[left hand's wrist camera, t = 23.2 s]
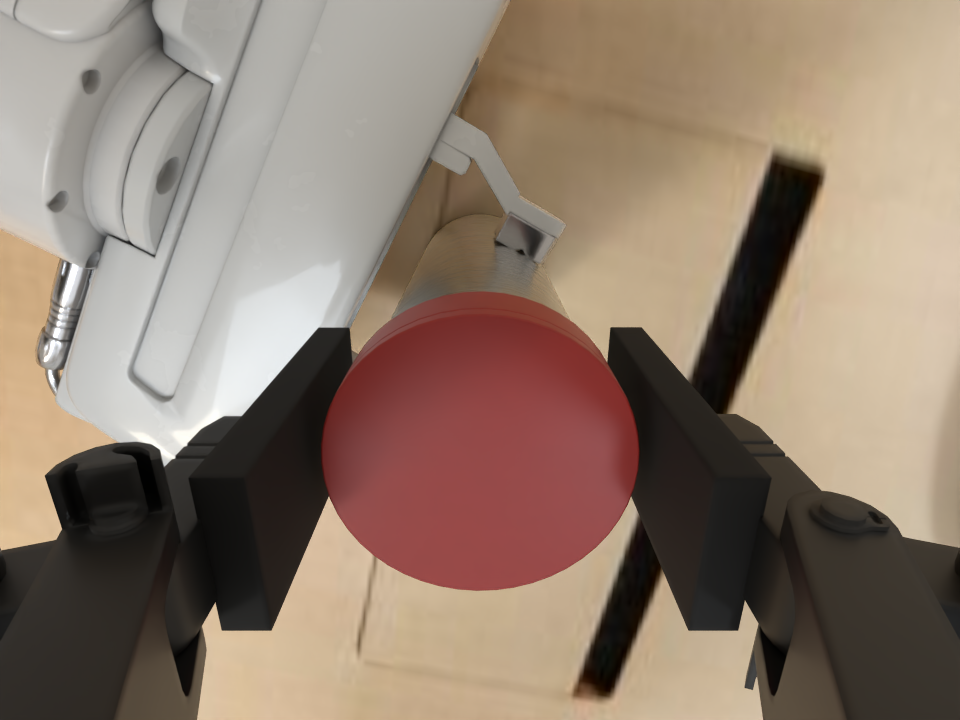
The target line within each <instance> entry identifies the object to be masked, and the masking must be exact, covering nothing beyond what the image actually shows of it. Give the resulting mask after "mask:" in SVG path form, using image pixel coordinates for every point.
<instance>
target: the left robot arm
mask: <svg viewBox="0 0 960 720" xmlns="http://www.w3.org/2000/svg"><path fill="white" fill-rule="evenodd" d="M352 364H353V362H352V350H351V339H350V328H349V327H318V329H317V330H316V331H315V332H314V333H313V334H312V335H311V337H310V338H309V339H308V340H307V341H306V342H305V344H304V345H303V346H302V347H301V348H300V349H299V350H298V352H297V353H296V354H295V355H294V356H293V357H292V359H291V360H290V361H289V362H288V363H287V364H286V365H285V367H284V368H283V369H282V370H281V371H280V372H279V374H278V375H277V376H276V377H275V378H274V379H273V381H272V382H271V383H270V384H269V385H268V386H267V387H266V389H265V390H264V391H263V392H262V393H261V394H260V396H259V397H258V398H257V399H256V400H255V401H254V402H253V404H252V405H251V406H250V407H249V408H248V409H247V411H246V412H245V413H244V414H243V415H242V416H223V417H222V418H220V419H218V420H216V421H214V422H212V423H211V424H209V425H207V426H205V427H203V428H202V429H201V430H200V431H199V432H198V433H197V434H196V435H195V436H194V437H193V438H192V439H191V440H190V441H189V442H188V443H187V446H184V447H183V448H182V449H181V450H180V451H179V452H178V453H177V454H176V455H175V459H172V460H171V461H170V462H169V463H168V464H167V465H166V466H165V467H164V464H163V460H162V456H161V452H160V449H158V448H157V447H155V446H154V445H152V444H148V443H142V442H122V443H114V444H109V445H104V446H100V447H95V448H92V449H90V450H87V451H84V452H81V453H79V454H76V455H73V456H72V457H70V458H68V459H66V460H64V461H63V462H61V463H59V464H57V465H56V466H55V467H54V468H53V469H51V470H50V471H49V472H48V473H47V474H46V475H45V478H46V481H47V484H48V487H49V490H50V493H51V496H52V499H53V502H54V505H55V508H56V511H57V514H58V517H59V520H60V523H61V527H62V531H61V532H60V534H59V536H58V538H57V540H54V541H49V542H44V543H38V544H33V545H28V546H23V547H17V548H12V549H7V550H2V551H1V549H0V720H197V715H198V708H199V701H200V694H201V686H202V679H203V672H204V665H205V658H206V643H205V637H204V633H203V629H202V625H203V623H204V621H205V619H206V618H207V616H208V614H209V612H210V611H211V609H212V607H213V605H214V604H215V602H216V606H217V611H218V615H219V620H220V624H221V629H222V631H271V630H272V628H273V626H274V623H275V621H276V619H277V616H278V614H279V612H280V609H281V607H282V605H283V602H284V600H285V598H286V595H287V593H288V591H289V588H290V586H291V583H292V581H293V579H294V576H295V574H296V572H297V569H298V567H299V565H300V562H301V560H302V558H303V555H304V553H305V551H306V548H307V546H308V544H309V541H310V539H311V537H312V534H313V532H314V529H315V527H316V525H317V522H318V520H319V518H320V515H321V513H322V511H323V508H324V506H325V504H326V501H327V499H328V497H329V494H328V491H327V488H326V484H325V481H324V476H323V470H322V464H321V440H322V433H323V426H324V423H325V419H326V416H327V413H328V409H329V407H330V405H331V403H332V400H333V398H334V396H335V394H336V392H337V390H338V388H339V386H340V385H341V383H342V381H343V379H344V378H345V376H346V374H347V372H348V371H349V369H350V367H351V365H352ZM607 364H608V365H609V367H610V369H611V371H612V372H613V374H614V376H615V378H616V379H617V381H618V383H619V385H620V386H621V388H622V390H623V392H624V393H625V395H626V397H627V399H628V402H629V404H630V406H631V409H632V411H633V414H634V417H635V422H636V426H637V430H638V437H639V450H640V453H639V467H638V473H637V477H636V482H635V486H634V489H633V492H632V495H631V497H632V499H633V501H634V504H635V506H636V508H637V511H638V513H639V515H640V518H641V520H642V522H643V525H644V527H645V529H646V532H647V534H648V537H649V539H650V541H651V544H652V546H653V548H654V551H655V553H656V555H657V558H658V560H659V562H660V565H661V567H662V569H663V572H664V574H665V576H666V579H667V581H668V583H669V586H670V588H671V591H672V593H673V595H674V598H675V600H676V602H677V605H678V607H679V609H680V612H681V614H682V616H683V619H684V621H685V623H686V626H687V628H688V630H689V631H738V629H739V624H740V620H741V615H742V611H743V606H744V602H745V601H746V602H747V604H748V606H749V608H750V609H751V611H752V613H753V615H754V616H755V618H756V620H757V621H758V623H759V625H758V629H757V633H756V637H755V641H754V646H753V650H752V654H751V658H750V662H749V667H748V671H747V675H746V682H745V688H747V689H751V690H753V687H754V683H755V679H756V677H757V678H758V685H759V692H760V699H761V707H762V714H763V720H960V548H957V547H951V546H946V545H941V544H936V543H930V542H925V541H920V540H915V539H910V538H905V537H902V535H901V533H900V531H899V530H898V528H897V527H896V526H895V525H894V523H893V522H892V521H891V520H890V519H889V518H888V517H887V516H886V515H884V514H883V513H881V512H880V511H878V510H877V509H875V508H874V507H872V506H871V505H869V504H866V503H864V502H862V501H859V500H857V499H854V498H852V497H849V496H845V495H841V494H837V493H833V492H828V491H821V490H820V489H819V488H818V487H817V486H816V485H815V484H814V483H813V482H812V480H811V479H810V478H809V477H808V476H807V475H806V474H805V473H804V472H803V471H802V470H801V469H800V468H799V467H798V466H797V465H796V464H795V463H794V462H793V461H792V460H791V459H790V458H789V457H785V453H784V452H783V451H782V450H781V449H780V448H779V447H778V446H777V445H776V444H773V441H772V440H771V438H770V437H769V436H768V435H767V434H766V433H765V432H764V431H763V430H762V429H761V428H760V427H759V426H757V425H755V424H753V423H751V422H750V421H748V420H746V419H744V418H742V417H740V416H739V415H737V414H716V413H715V412H714V411H713V409H712V408H711V407H710V406H709V405H708V404H707V402H706V401H705V400H704V399H703V398H702V397H701V396H700V394H699V393H698V392H697V391H696V390H695V389H694V387H693V386H692V385H691V384H690V383H689V382H688V380H687V379H686V378H685V377H684V376H683V375H682V374H681V372H680V371H679V370H678V369H677V368H676V367H675V365H674V364H673V363H672V362H671V361H670V360H669V359H668V357H667V356H666V355H665V354H664V353H663V352H662V350H661V349H660V348H659V347H658V346H657V345H656V344H655V342H654V341H653V340H652V339H651V338H650V337H649V335H648V334H647V333H646V332H645V331H644V330H643V329H642V327H611V328H610V339H609V351H608V362H607Z"/></svg>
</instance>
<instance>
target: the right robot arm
mask: <svg viewBox="0 0 960 720" xmlns="http://www.w3.org/2000/svg"><path fill="white" fill-rule="evenodd" d="M510 1H511V0H0V230H2V231H4V232H7V233H9V234H11V235H13V236H15V237H17V238H19V239H21V240H23V241H25V242H28V243H30V244H32V245H34V246H36V247H38V248H40V249H42V250H44V251H46V252H49V253H51V254H53V255H55V256H57V257H59V258H60V261H59V264H58V268H57V272H56V275H55V279H54V282H53V287H52V292H51V299H50V308H49V315H48V318H47V322H46V325H45V326H44V327H43V328H42V330H41V332H40V334H39V337H38V340H37V344H36V362H37V364H38V365H39V366H41V367H43V368H45V375H46V378H47V382H48V384H49V387H50V389H51V390H52V392H53V394H54V395H55V400H56V403H57V404H58V405H59V406H60V407H61V408H62V409H63V410H65V411H66V412H68V413H69V414H71V415H73V416H75V417H77V418H79V419H82V420H84V421H86V422H89V423H91V424H92V425H94V426H95V427H96V428H98V429H99V430H100V431H102V432H103V433H105V434H106V435H108V436H109V437H111V438H112V439H114V440H115V441H117V442H119V443H122V442H142V443H148V444H152V445H154V446H155V447H157V448H158V449H160V452H161V456H162V460H163V464H164V467H165V466H166V465H167V464H168V463H169V462H170V461H171V460H172V459H175V455H176V454H177V453H178V452H179V451H180V450H181V449H182V448H183V447H184V446H187V443H188V442H189V441H190V440H191V439H192V438H193V437H194V436H195V435H196V434H197V433H198V432H199V431H200V430H201V429H202V428H203V427H205V426H207V425H209V424H211V423H212V422H214V421H216V420H218V419H220V418H222V417H223V416H242V415H243V414H244V413H245V412H246V411H247V409H248V408H249V407H250V406H251V405H252V404H253V402H254V401H255V400H256V399H257V398H258V397H259V396H260V394H261V393H262V392H263V391H264V390H265V389H266V387H267V386H268V385H269V384H270V383H271V382H272V381H273V379H274V378H275V377H276V376H277V375H278V374H279V372H280V371H281V370H282V369H283V368H284V367H285V365H286V364H287V363H288V362H289V361H290V360H291V359H292V357H293V356H294V355H295V354H296V353H297V352H298V350H299V349H300V348H301V347H302V346H303V345H304V344H305V342H306V341H307V340H308V339H309V338H310V337H311V335H312V334H313V333H314V332H315V331H316V330H317V329H318V327H349V328H350V327H351V325H352V323H353V321H354V319H355V317H356V315H357V313H358V311H359V309H360V307H361V305H362V303H363V301H364V299H365V297H366V295H367V293H368V291H369V289H370V287H371V285H372V283H373V281H374V279H375V276H376V274H377V272H378V270H379V268H380V266H381V264H382V262H383V260H384V258H385V256H386V254H387V252H388V250H389V248H390V246H391V244H392V242H393V240H394V238H395V236H396V234H397V232H398V230H399V228H400V225H401V223H402V221H403V219H404V217H405V215H406V213H407V211H408V209H409V207H410V205H411V203H412V201H413V199H414V197H415V195H416V193H417V191H418V189H419V187H420V185H421V183H422V181H423V179H424V176H425V174H426V172H427V170H428V168H429V166H430V164H431V162H432V160H434V161H435V162H437V163H439V164H441V165H443V166H444V167H446V168H448V169H450V170H451V171H453V172H455V173H457V174H459V175H463V174H465V173H466V171H467V169H468V167H469V165H470V163H471V161H472V160H471V158H472V159H474V160H475V162H476V164H477V165H478V167H479V169H480V170H481V172H482V174H483V176H484V177H485V179H486V181H487V182H488V184H489V186H490V188H491V189H492V191H493V193H494V194H495V196H496V198H497V200H498V201H499V203H500V205H501V206H502V208H503V210H504V214H503V216H502V218H501V219H500V221H499V223H498V225H497V227H496V229H495V231H494V234H495V240H497V241H498V242H500V243H502V244H504V245H505V246H507V247H509V248H512V249H514V250H520V249H523V251H524V254H525V256H527V257H528V258H530V259H531V260H532V261H534V262H536V263H538V264H542V265H543V263H544V262H545V260H546V258H547V257H548V255H549V253H550V252H551V250H552V249H553V247H554V245H555V244H556V242H557V240H558V239H559V237H560V235H561V234H562V232H563V230H564V229H565V227H566V224H565V223H564V222H563V221H562V220H561V219H559V218H558V217H556V216H555V215H553V214H552V213H550V212H548V211H546V210H545V209H543V208H541V207H540V206H538V205H536V204H534V203H533V202H531V201H529V200H527V199H526V198H524V197H522V196H521V195H520V192H519V190H518V189H517V187H516V185H515V183H514V181H513V180H512V178H511V176H510V174H509V173H508V171H507V169H506V167H505V165H504V164H503V162H502V160H501V158H500V156H499V155H498V153H497V151H496V149H495V148H494V146H493V144H492V142H491V140H490V139H489V137H488V135H487V134H486V133H484V132H483V131H481V130H479V129H478V128H476V127H474V126H473V125H471V124H469V123H468V122H466V121H464V120H463V119H461V118H459V117H458V116H456V115H455V113H456V111H457V109H458V107H459V105H460V103H461V101H462V99H463V97H464V95H465V93H466V91H467V89H468V87H469V85H470V83H471V81H472V79H473V77H474V74H475V72H476V70H477V68H478V66H479V64H480V62H481V60H482V58H483V56H484V54H485V52H486V50H487V48H488V46H489V44H490V42H491V40H492V38H493V36H494V34H495V32H496V30H497V28H498V26H499V23H500V21H501V19H502V17H503V15H504V13H505V11H506V9H507V7H508V5H509V3H510ZM357 356H358V354H357V353H355V352H353V351H352V362H354V360H355V359H356V357H357ZM59 370H63V373H62V376H61V377H60V371H59Z"/></svg>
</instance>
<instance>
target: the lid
mask: <svg viewBox="0 0 960 720" xmlns="http://www.w3.org/2000/svg"><path fill="white" fill-rule="evenodd" d="M639 453H640V450H639V437H638V430H637V426H636V422H635V417H634V414H633V411H632V409H631V406H630V404H629V402H628V399H627V397H626V395H625V393H624V392H623V390H622V388H621V386H620V385H619V383H618V381H617V379H616V378H615V376H614V374H613V372H612V371H611V369H610V367H609V365H608V364H607V362H606V360H605V359H604V357H603V355H602V354H601V352H600V350H599V349H598V348H597V347H596V345H595V344H594V343H593V342H592V340H591V339H590V338H589V337H588V336H587V335H586V334H585V333H584V332H583V331H582V330H581V329H580V328H579V327H578V326H577V325H575V324H574V323H573V322H571V321H570V320H569V319H567V318H566V317H564V316H563V315H561V314H560V313H558V312H556V311H554V310H553V309H551V308H549V307H547V306H545V305H543V304H540V303H538V302H535V301H532V300H529V299H527V298H524V297H519V296H515V295H510V294H506V293H497V292H486V291H480V292H462V293H456V294H450V295H444V296H441V297H438V298H434V299H431V300H428V301H425V302H422V303H420V304H418V305H416V306H414V307H412V308H409V309H407V310H406V311H404V312H402V313H401V314H399V315H398V316H396V317H394V318H393V319H391V320H390V321H389V322H388V323H386V324H385V325H384V326H383V327H382V328H381V329H379V330H378V331H377V332H376V333H375V334H374V335H373V336H372V337H371V339H370V340H369V341H368V342H367V343H366V344H365V345H364V347H363V348H362V350H361V351H360V353H359V354H358V356H357V357H356V359H355V360H354V362H353V364H352V365H351V367H350V369H349V371H348V372H347V374H346V376H345V378H344V379H343V381H342V383H341V385H340V386H339V388H338V390H337V392H336V394H335V396H334V398H333V400H332V403H331V405H330V407H329V409H328V413H327V416H326V419H325V423H324V426H323V433H322V440H321V464H322V470H323V476H324V481H325V484H326V488H327V491H328V494H329V497H330V499H331V501H332V504H333V506H334V508H335V510H336V512H337V514H338V515H339V517H340V518H341V520H342V521H343V523H344V524H345V526H346V527H347V529H348V530H349V531H350V532H351V533H352V535H353V536H354V537H355V538H356V539H357V540H358V542H359V543H360V544H362V545H363V546H364V547H365V548H366V549H367V550H368V551H369V552H371V553H372V554H373V555H374V556H376V557H377V558H378V559H380V560H381V561H383V562H384V563H386V564H387V565H389V566H390V567H392V568H394V569H396V570H398V571H400V572H402V573H403V574H406V575H408V576H411V577H413V578H416V579H418V580H420V581H424V582H427V583H431V584H434V585H438V586H442V587H448V588H453V589H461V590H475V591H480V590H499V589H506V588H514V587H518V586H522V585H526V584H530V583H534V582H536V581H539V580H542V579H545V578H548V577H550V576H552V575H554V574H556V573H558V572H560V571H563V570H565V569H567V568H568V567H570V566H571V565H573V564H574V563H576V562H578V561H579V560H581V559H582V558H583V557H585V556H586V555H587V554H588V553H590V552H591V551H592V550H593V549H595V548H596V547H597V546H598V545H599V544H600V543H601V542H602V541H603V539H604V538H605V537H606V536H607V535H608V534H609V533H610V532H611V530H612V529H613V528H614V526H615V525H616V523H617V522H618V521H619V519H620V517H621V516H622V514H623V512H624V510H625V508H626V507H627V505H628V502H629V500H630V497H631V495H632V492H633V489H634V486H635V482H636V477H637V473H638V467H639Z"/></svg>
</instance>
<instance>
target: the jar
mask: <svg viewBox="0 0 960 720" xmlns="http://www.w3.org/2000/svg"><path fill="white" fill-rule="evenodd" d="M500 219H501V218H500V217H497V216H492V215H486V214H474V215H468V216H463V217H460V218H458V219H455V220H453V221H451V222H449V223H448V224H447V225H445V226H444V227H442V228H441V229H440V230H439V231H438V232H437V233H436V234H435V235H434V237H433V238H432V239H431V241H430V242H429V244H428V246H427V248H426V250H425V252H424V254H423V256H422V258H421V260H420V262H419V264H418V266H417V268H416V270H415V272H414V274H413V276H412V278H411V280H410V282H409V284H408V286H407V288H406V290H405V292H404V294H403V296H402V298H401V300H400V302H399V304H398V306H397V308H396V310H395V312H394V314H393V316H392V318H391V319H393V318H394V317H396V316H398V315H399V314H401V313H402V312H404V311H406V310H407V309H409V308H412V307H414V306H416V305H418V304H420V303H422V302H425V301H428V300H431V299H434V298H438V297H441V296H444V295H450V294H456V293H462V292H480V291H486V292H497V293H506V294H510V295H515V296H519V297H524V298H527V299H529V300H532V301H535V302H538V303H540V304H543V305H545V306H547V307H549V308H551V309H553V310H554V311H556V312H558V313H560V314H561V315H563V316H564V317H566V318H567V319H569V317H568V315H567V313H566V311H565V309H564V307H563V305H562V303H561V301H560V299H559V297H558V295H557V293H556V291H555V289H554V287H553V285H552V283H551V281H550V279H549V277H548V275H547V273H546V272H545V270H544V268H543V266H542V264H538V263H536V262H534V261H532V260H531V259H530V258H528V257H527V256H525V254H524V251H523V249H520V250H514V249H512V248H509V247H507V246H505V245H504V244H502V243H500V242H498V241H497V240H495V234H494V231H495V229H496V227H497V225H498V223H499V221H500ZM569 320H570V319H569Z"/></svg>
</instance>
